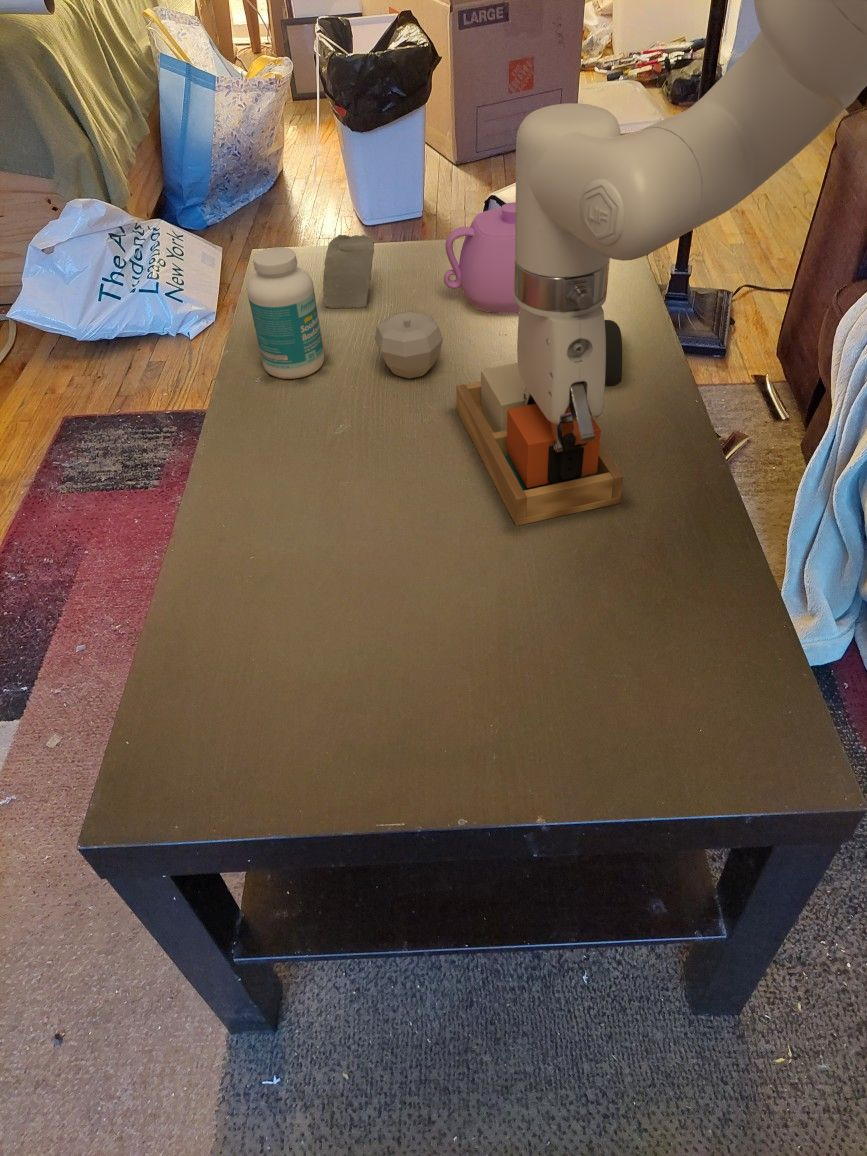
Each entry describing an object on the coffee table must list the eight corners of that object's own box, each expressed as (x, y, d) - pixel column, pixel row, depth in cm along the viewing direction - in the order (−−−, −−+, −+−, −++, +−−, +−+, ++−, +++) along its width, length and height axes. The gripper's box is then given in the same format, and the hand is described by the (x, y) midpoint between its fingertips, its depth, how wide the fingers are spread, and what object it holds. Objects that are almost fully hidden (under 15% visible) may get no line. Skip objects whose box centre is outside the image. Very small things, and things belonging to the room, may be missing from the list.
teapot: (451, 328, 105) (448, 235, 97) (438, 281, 115) (434, 192, 106) (608, 311, 106) (617, 217, 98) (582, 265, 116) (589, 176, 107)
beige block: (533, 399, 92) (535, 359, 88) (556, 435, 87) (559, 393, 83) (481, 410, 91) (480, 369, 87) (501, 446, 86) (501, 405, 82)
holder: (547, 393, 94) (548, 367, 91) (620, 503, 80) (624, 476, 78) (457, 411, 92) (455, 385, 90) (515, 526, 78) (516, 499, 76)
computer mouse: (617, 335, 102) (620, 304, 99) (622, 386, 94) (626, 354, 91) (564, 335, 103) (566, 304, 100) (565, 385, 95) (567, 354, 92)
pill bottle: (321, 380, 98) (303, 269, 89) (259, 383, 99) (234, 272, 89) (328, 348, 104) (311, 239, 94) (269, 350, 104) (246, 242, 94)
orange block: (573, 438, 84) (576, 395, 80) (597, 473, 79) (601, 429, 76) (506, 452, 83) (506, 409, 79) (526, 488, 78) (528, 444, 75)
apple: (364, 369, 100) (357, 318, 95) (416, 346, 103) (412, 295, 98) (405, 397, 95) (400, 344, 90) (458, 371, 98) (456, 319, 94)
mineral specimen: (391, 300, 110) (372, 243, 104) (329, 319, 111) (306, 263, 105) (389, 273, 115) (370, 217, 109) (329, 291, 116) (308, 237, 110)
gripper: (650, 319, 63) (625, 505, 75) (565, 231, 75) (556, 404, 87) (555, 337, 61) (546, 523, 74) (484, 245, 74) (487, 418, 86)
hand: (551, 457), depth 81 cm, fingers closed on orange block, 5 cm apart
